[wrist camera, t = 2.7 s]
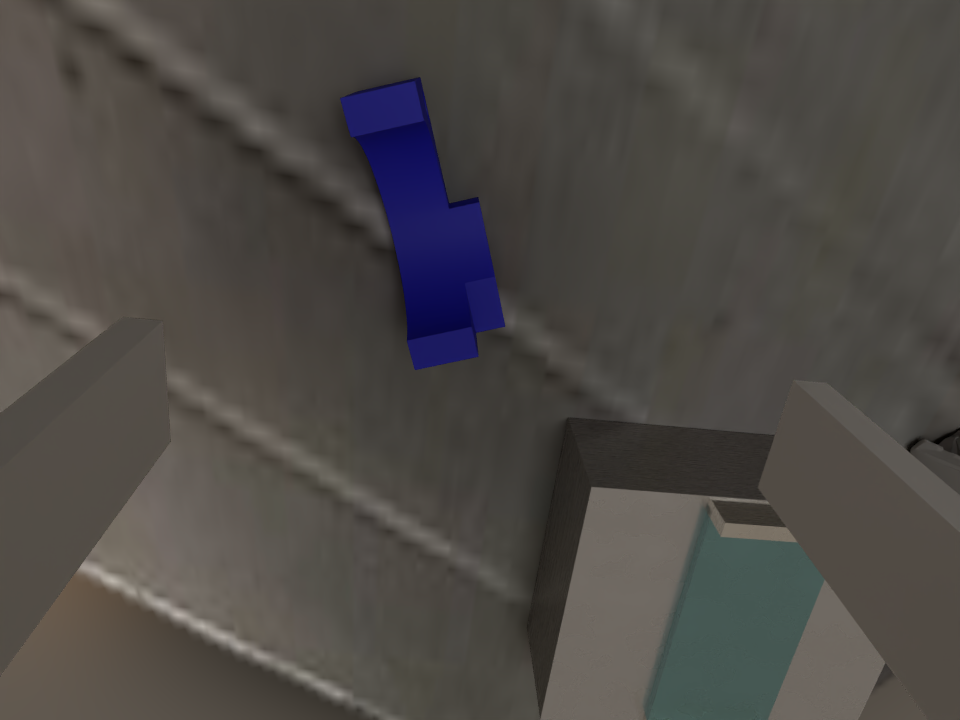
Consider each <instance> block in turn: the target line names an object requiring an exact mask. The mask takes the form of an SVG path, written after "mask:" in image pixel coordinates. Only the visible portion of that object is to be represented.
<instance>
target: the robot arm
mask: <svg viewBox="0 0 960 720" xmlns="http://www.w3.org/2000/svg"><path fill="white" fill-rule="evenodd" d="M170 442H171V439H170V423H169V408H168V393H167V377H166V362H165V347H164V332H163V321H161V320H150V319H140V318H129V317H122V318H121V319H119V320H118V321H117V322H116V323H114V324H113V325H112V326H110V327H109V328H108V329H107V330H105V331H104V332H103V333H102V334H100V335H99V336H98V337H97V338H95V339H94V340H93V341H91V342H90V343H89V344H88V345H86V346H85V347H84V348H83V349H81V350H80V351H79V352H77V353H76V354H75V355H74V356H72V357H71V358H70V359H69V360H67V361H66V362H65V363H64V364H62V365H61V366H60V367H58V368H57V369H56V370H55V371H53V372H52V373H51V374H50V375H48V376H47V377H46V378H45V379H43V380H42V381H41V382H39V383H38V384H37V385H36V386H34V387H33V388H32V389H31V390H29V391H28V392H27V393H26V394H24V395H23V396H22V397H20V398H19V399H18V400H17V401H15V402H14V403H13V404H12V405H10V406H9V407H8V408H7V409H5V410H4V411H3V412H1V413H0V676H1V674H2V673H3V672H4V670H5V669H6V668H7V666H8V665H9V663H10V662H11V661H12V659H13V658H14V656H15V655H16V654H17V652H18V651H19V650H20V648H21V647H22V646H23V644H24V643H25V641H26V640H27V639H28V637H29V636H30V634H31V633H32V632H33V630H34V629H35V628H36V626H37V625H38V623H39V622H40V620H41V619H42V618H43V617H44V615H45V614H46V612H47V611H48V610H49V608H50V607H51V605H52V604H53V603H54V601H55V600H56V599H57V597H58V595H60V593H61V592H62V590H63V589H64V588H65V586H66V585H67V583H68V582H69V581H70V579H71V578H72V576H73V575H74V574H75V572H76V571H77V570H78V568H79V567H80V566H81V564H82V563H83V561H84V560H85V559H86V557H87V556H88V555H89V553H90V552H91V550H92V549H93V548H94V546H95V545H96V544H97V542H98V541H99V539H100V538H101V537H102V535H103V534H104V532H105V531H106V530H107V528H108V527H109V526H110V524H111V523H112V521H113V520H114V519H115V517H116V516H117V515H118V513H119V512H120V510H121V509H122V508H123V506H124V505H125V504H126V502H127V501H128V499H129V498H130V497H131V495H132V494H133V493H134V491H135V490H136V488H137V487H138V486H139V484H140V483H141V481H142V480H143V479H144V477H145V476H146V475H147V473H148V472H149V470H150V469H151V468H152V466H153V465H154V464H155V462H156V461H157V459H158V458H159V457H160V455H161V454H162V453H163V451H164V450H165V448H166V447H167V446H168V444H169V443H170ZM758 489H759V490H760V491H761V493H762V494H763V496H764V497H765V498H766V500H767V501H768V502H769V504H770V505H771V507H772V508H773V509H774V511H775V512H776V513H777V515H778V516H779V517H780V519H781V520H782V522H783V523H784V524H785V526H786V527H787V528H788V530H789V531H790V532H791V534H792V535H793V537H794V538H795V539H796V541H797V542H798V543H799V545H800V546H801V548H802V549H803V550H804V552H805V553H806V554H807V556H808V557H809V558H810V560H811V561H812V563H813V564H814V565H815V567H816V568H817V569H818V571H819V572H820V573H821V575H822V576H823V578H824V579H825V580H826V582H827V583H828V584H829V586H830V587H831V589H832V590H833V591H834V593H835V594H836V595H837V597H838V598H839V599H840V601H841V602H842V604H843V605H844V606H845V608H846V609H847V610H848V612H849V613H850V614H851V616H852V617H853V619H854V620H855V621H856V623H857V624H858V625H859V627H860V628H861V630H862V631H863V632H864V634H865V635H866V636H867V638H868V639H869V640H870V642H871V643H872V645H873V646H874V647H875V649H876V650H877V651H878V653H879V654H880V656H881V657H882V658H883V660H884V661H885V662H886V664H887V665H888V666H889V668H890V669H891V671H892V672H893V673H894V675H895V676H896V677H897V679H898V680H899V681H900V683H901V684H902V686H903V687H904V688H905V690H906V691H907V692H908V694H909V695H910V697H911V698H912V699H913V701H914V702H915V703H916V705H917V706H918V707H919V709H920V710H921V712H922V713H923V714H924V716H925V717H926V718H927V720H960V495H959V494H958V493H957V492H956V491H954V490H953V489H952V488H951V487H950V486H948V485H947V484H946V483H945V482H944V481H943V480H941V479H940V478H939V477H938V476H937V475H935V474H934V473H933V472H932V471H931V470H929V469H928V468H927V467H926V466H925V465H924V464H922V463H921V462H920V461H919V460H918V459H916V458H915V457H914V456H913V455H912V454H911V453H909V452H908V451H907V450H906V449H905V448H903V447H902V446H901V445H900V444H899V443H897V442H896V441H895V440H894V439H893V438H892V437H890V436H889V435H888V434H887V433H886V432H884V431H883V430H882V429H881V428H880V427H879V426H877V425H876V424H875V423H874V422H873V421H871V420H870V419H869V418H868V417H867V416H865V415H864V414H863V413H862V412H861V411H860V410H858V409H857V408H856V407H855V406H854V405H852V404H851V403H850V402H849V401H848V400H847V399H845V398H844V397H843V396H842V395H841V394H839V393H838V392H837V391H836V390H835V389H833V388H832V387H831V386H830V385H829V384H828V383H821V382H811V381H800V380H793V382H792V385H791V388H790V391H789V394H788V397H787V400H786V403H785V406H784V409H783V412H782V415H781V418H780V422H779V425H778V428H777V431H776V434H775V437H774V440H773V443H772V446H771V449H770V452H769V455H768V458H767V461H766V464H765V467H764V470H763V473H762V476H761V479H760V482H759V485H758Z"/></svg>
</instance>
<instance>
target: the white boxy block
mask: <svg viewBox="0 0 960 720" xmlns="http://www.w3.org/2000/svg"><path fill="white" fill-rule="evenodd" d="M774 437H775V436H773V435H762V434H750V433H739V432H727V431H716V430H704V429H692V428H681V427H669V426H658V425H646V424H635V423H623V422H612V421H600V420H588V419H577V418H568V420H567V426H566V431H565V436H564V441H563V446H562V451H561V456H560V462H559V467H558V472H557V477H556V482H555V487H554V492H553V497H552V503H551V508H550V513H549V518H548V523H547V528H546V533H545V538H544V544H543V549H542V554H541V559H540V564H539V569H538V574H537V579H536V585H535V590H534V595H533V600H532V605H531V610H530V615H529V620H528V626H527V630H528V637H529V644H530V651H531V658H532V665H533V672H534V679H535V686H536V693H537V700H538V707H539V714H540V720H858V719H859V717H860V715H861V713H862V710H863V708H864V706H865V704H866V702H867V700H868V698H869V696H870V694H871V692H872V690H873V687H874V685H875V683H876V681H877V679H878V677H879V675H880V673H881V671H882V669H883V667H884V665H885V661H884V660H883V658H882V657H881V656H880V654H879V653H878V651H877V650H876V649H875V647H874V646H873V645H872V643H871V642H870V640H869V639H868V638H867V636H866V635H865V634H864V632H863V631H862V630H861V628H860V627H859V625H858V624H857V623H856V621H855V620H854V619H853V617H852V616H851V614H850V613H849V612H848V610H847V609H846V608H845V606H844V605H843V604H842V602H841V601H840V599H839V598H838V597H837V595H836V594H835V593H834V591H833V590H832V589H831V587H830V586H829V584H828V583H827V582H826V580H825V579H824V578H823V576H822V575H821V573H820V572H819V571H818V569H817V568H816V567H815V565H814V564H813V563H812V561H811V560H810V558H809V557H808V556H807V554H806V553H805V552H804V550H803V549H802V548H801V546H800V545H799V543H798V542H797V541H796V539H795V538H794V537H793V535H792V534H791V532H790V531H789V530H788V528H787V527H786V526H785V524H784V523H783V522H782V520H781V519H780V517H779V516H778V515H777V513H776V512H775V511H774V509H773V508H772V507H771V505H770V504H769V502H768V501H767V500H766V498H765V497H764V496H763V494H762V493H761V491H760V490H759V489H758V485H759V482H760V479H761V476H762V473H763V470H764V467H765V464H766V461H767V458H768V455H769V452H770V449H771V446H772V443H773V440H774Z"/></svg>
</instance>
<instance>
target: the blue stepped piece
mask: <svg viewBox="0 0 960 720" xmlns="http://www.w3.org/2000/svg"><path fill="white" fill-rule="evenodd" d="M340 100H341V103H342V107H343V111H344V114H345V118H346V122H347V125H348V129H349V132H350V136H351V137H355V138H356V139H357V140H358V142H359V143H360V145H361V146H362V148H363V150H364V152H365V154H366V156H367V158H368V161H369V163H370V165H371V168H372V171H373V173H374V176H375V179H376V182H377V185H378V187H379V191H380V194H381V197H382V200H383V203H384V207H385V210H386V214H387V217H388V221H389V225H390V229H391V233H392V237H393V241H394V245H395V249H396V254H397V259H398V263H399V268H400V274H401V279H402V285H403V291H404V298H405V305H406V315H407V343H408V347H409V350H410V354H411V358H412V361H413V365H414V369H415V370H418V369H422V368H427V367H432V366H437V365H441V364H446V363H451V362H456V361H460V360H465V359H470V358H475V357H478V347H477V338H476V333H477V332H482V331H486V330H491V329H496V328H501V327H505V322H504V318H503V313H502V308H501V303H500V298H499V294H498V289H497V284H496V279H495V275H494V270H493V265H492V260H491V256H490V251H489V246H488V241H487V237H486V232H485V227H484V222H483V218H482V213H481V208H480V203H479V199H478V197H477V198H472V199H467V200H463V201H458V202H454V203H449V202H448V197H447V193H446V188H445V184H444V180H443V175H442V171H441V167H440V162H439V158H438V153H437V149H436V145H435V140H434V136H433V131H432V127H431V123H430V118H429V114H428V109H427V105H426V101H425V96H424V92H423V87H422V83H421V79H420V77H419V78H414V79H410V80H406V81H401V82H397V83H393V84H388V85H384V86H379V87H375V88H371V89H366V90H362V91H358V92H355V93H352V94H350V95H347V96H345V97H342V98H340Z"/></svg>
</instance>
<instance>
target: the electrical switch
mask: <svg viewBox="0 0 960 720" xmlns="http://www.w3.org/2000/svg"><path fill="white" fill-rule="evenodd" d="M910 453H911V454H912V455H913V456H914V457H915V458H916V459H918V460H919V461H920V462H921V463H922V464H924V465H925V466H926V467H927V468H928V469H929V470H931V471H932V472H933V473H934V474H935V475H937V476H938V477H939V478H940V479H941V480H943V481H944V482H945V483H946V484H947V485H948V486H950V487H951V488H952V489H953V490H954V491H956V492H957V493H958V494H959V495H960V430H959V431H957V432H956V433H955V434H953V435H952V436H950V437H948V438H945V439H944V440H943V441H942V442H941V443H940V444H938V445H937V444H934V443H932V442H930V441H928V440H926V439H925V440H921V441H919V442H918V443H916V444H915V445H914V446H913V447H912V448H911V450H910Z"/></svg>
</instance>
